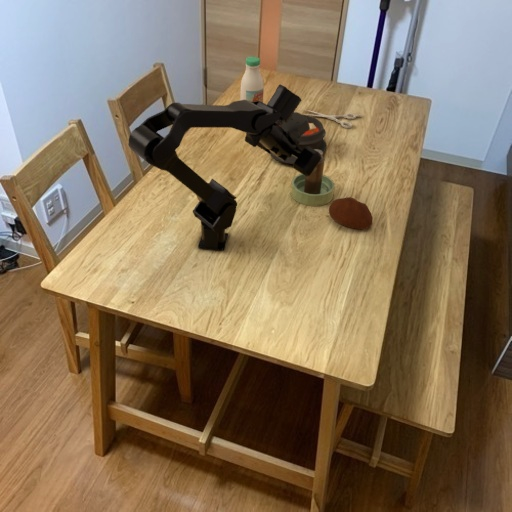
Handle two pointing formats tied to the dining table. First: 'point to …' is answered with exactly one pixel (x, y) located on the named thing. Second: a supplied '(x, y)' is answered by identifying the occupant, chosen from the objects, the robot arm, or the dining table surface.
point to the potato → (351, 213)
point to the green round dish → (312, 199)
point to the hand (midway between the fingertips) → (302, 163)
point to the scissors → (337, 117)
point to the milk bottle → (252, 81)
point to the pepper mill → (315, 178)
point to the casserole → (308, 139)
